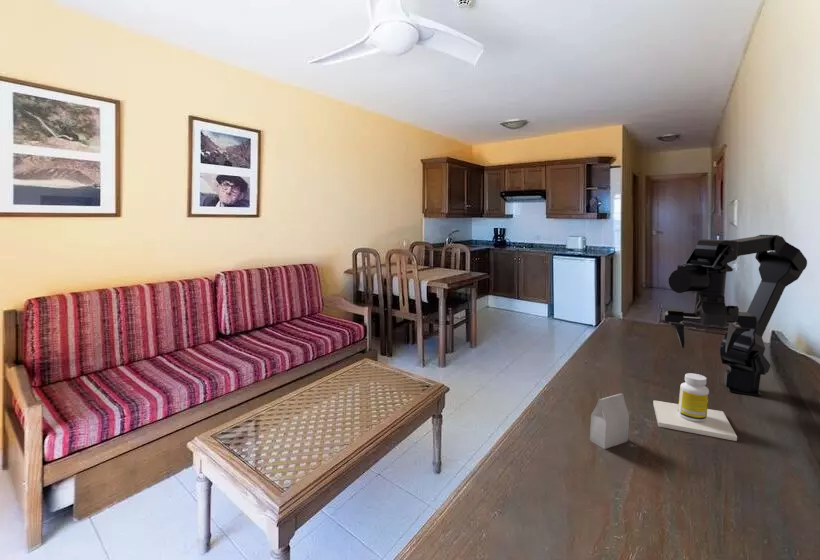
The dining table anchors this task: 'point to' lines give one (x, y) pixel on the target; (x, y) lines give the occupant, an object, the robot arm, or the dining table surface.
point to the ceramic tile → (711, 426)
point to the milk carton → (609, 422)
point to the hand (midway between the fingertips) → (704, 350)
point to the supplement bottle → (693, 398)
